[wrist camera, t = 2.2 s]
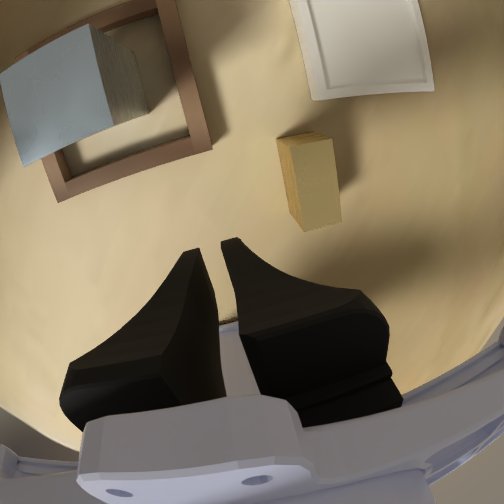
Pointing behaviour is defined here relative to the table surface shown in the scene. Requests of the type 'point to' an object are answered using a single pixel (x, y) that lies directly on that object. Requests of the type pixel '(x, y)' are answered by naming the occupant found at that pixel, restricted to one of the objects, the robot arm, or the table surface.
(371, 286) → the table surface
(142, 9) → the socket
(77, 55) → the brushed metal block
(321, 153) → the bar
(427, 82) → the tray
